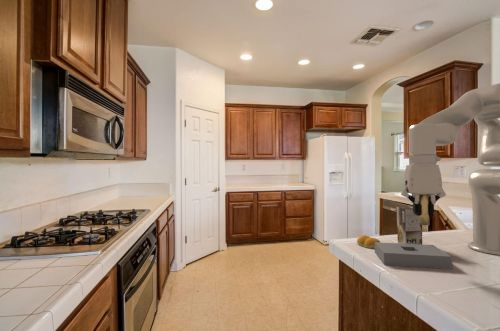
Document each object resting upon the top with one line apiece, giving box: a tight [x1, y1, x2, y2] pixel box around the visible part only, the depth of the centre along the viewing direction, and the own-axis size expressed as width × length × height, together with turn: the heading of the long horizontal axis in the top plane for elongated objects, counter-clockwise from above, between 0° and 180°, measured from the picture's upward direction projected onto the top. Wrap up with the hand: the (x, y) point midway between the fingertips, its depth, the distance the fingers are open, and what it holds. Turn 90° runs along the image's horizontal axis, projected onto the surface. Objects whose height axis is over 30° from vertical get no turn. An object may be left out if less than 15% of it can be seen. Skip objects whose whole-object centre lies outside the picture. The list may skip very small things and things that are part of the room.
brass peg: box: [418, 194, 430, 226], centre depth 84 cm, size 3×3×10 cm
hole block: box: [374, 241, 453, 270], centre depth 88 cm, size 20×12×4 cm, turn 77°
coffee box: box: [396, 205, 423, 245], centre depth 104 cm, size 9×6×16 cm
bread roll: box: [356, 234, 381, 249], centre depth 105 cm, size 8×9×4 cm
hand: (423, 214), depth 84 cm, fingers closed on brass peg, 3 cm apart
